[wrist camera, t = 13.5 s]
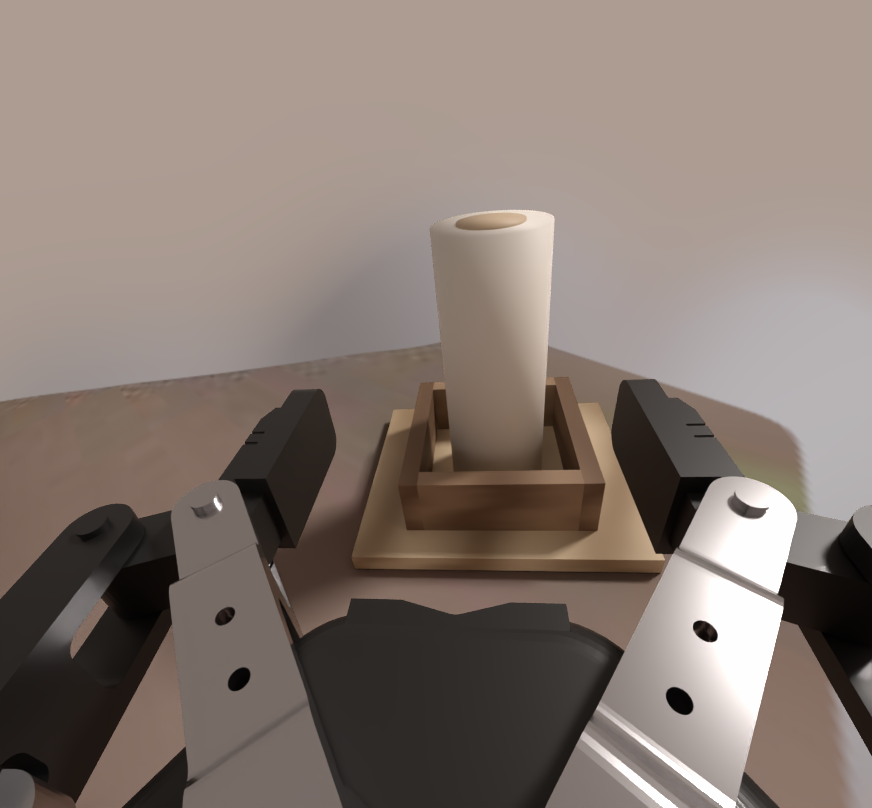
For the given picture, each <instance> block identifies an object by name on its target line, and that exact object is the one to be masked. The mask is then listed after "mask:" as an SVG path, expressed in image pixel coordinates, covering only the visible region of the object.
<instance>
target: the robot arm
mask: <svg viewBox="0 0 872 808" xmlns="http://www.w3.org/2000/svg"><path fill="white" fill-rule="evenodd" d="M611 439H612V446H613V450H614V453H615V456H616V458H617V460H618V463H619V465H620V468H621V470H622V473H623V475H624V478H625V480H626V482H627V485H628V487H629V490H630V492H631V495H632V497H633V500H634V502H635V505H636V507H637V509H638V512H639V514H640V517H641V519H642V522H643V524H644V527H645V529H646V532H647V534H648V536H649V539H650V541H651V544H652V546H653V549H654V551H655V554H673V555H672V557H671V559H670V561H669V563H668V565H667V567H666V569H665V571H664V573H663V575H662V577H661V579H660V581H659V583H658V585H657V587H656V589H655V591H654V593H653V596H652V598H651V600H650V602H649V604H648V606H647V608H646V610H645V612H644V614H643V616H642V618H641V620H640V622H639V624H638V626H637V628H636V630H635V632H634V634H633V636H632V638H631V640H630V642H629V644H628V646H627V648H626V650H625V651H624V650H623V649H621V648H620V647H619V646H617V645H616V644H614V643H613V642H611V641H610V640H609V639H607V638H605V637H604V636H602V635H600V634H598V633H596V632H594V631H593V630H590V629H588V628H585V627H583V626H580V625H578V624H575V623H571V622H569V618H568V612H567V607H566V604H546V603H507V604H503V605H498V606H494V607H490V608H485V609H481V610H477V611H472V612H468V613H464V614H458V615H453V614H448V613H445V612H441V611H438V610H435V609H431V608H428V607H424V606H421V605H418V604H414V603H411V602H407V601H404V600H389V599H351V602H350V605H349V609H348V613H347V616H344V617H340V618H337V619H335V620H332V621H329V622H327V623H325V624H323V625H321V626H319V627H317V628H315V629H313V630H312V631H310V632H309V633H307V634H305V635H304V636H303V634H302V631H301V629H300V627H299V624H298V622H297V619H296V616H295V614H294V611H293V608H292V606H291V603H290V601H289V598H288V595H287V593H286V590H285V587H284V585H283V582H282V579H281V577H280V574H279V571H278V569H277V566H276V564H275V562H274V559H273V558H274V556H275V553H276V551H277V549H278V548H296V546H297V543H298V541H299V539H300V536H301V534H302V531H303V529H304V527H305V524H306V522H307V519H308V517H309V514H310V512H311V510H312V507H313V505H314V502H315V500H316V498H317V495H318V493H319V490H320V488H321V486H322V483H323V481H324V478H325V476H326V473H327V471H328V469H329V466H330V464H331V461H332V459H333V457H334V454H335V450H336V434H335V430H334V426H333V422H332V419H331V415H330V412H329V408H328V404H327V401H326V397H325V394H324V392H323V391H322V390H321V389H305V390H293V391H292V392H291V393H290V395H289V396H288V398H287V399H286V401H285V402H284V404H283V405H282V407H281V408H275V409H274V410H272V411H271V412H270V413H268V414H267V415H266V416H264V417H263V418H262V419H261V420H260V421H259V423H258V424H257V426H256V427H255V428H254V430H253V431H252V434H250V436H249V437H248V438H247V440H246V441H245V445H243V446H242V447H241V448H240V450H239V451H238V453H237V454H236V455H235V457H234V458H233V460H232V461H231V463H230V464H229V465H228V467H227V468H226V470H225V471H224V473H223V474H222V475H221V477H220V478H219V480H217V481H211V482H207V483H205V484H202V485H200V486H198V487H196V488H194V489H192V490H190V491H189V492H188V493H186V494H185V495H184V496H183V497H181V498H180V499H179V501H178V502H177V503H176V504H175V506H174V508H173V510H172V511H167V512H163V513H159V514H155V515H151V516H147V517H143V518H139V519H138V517H137V516H136V514H135V513H134V512H133V510H132V509H131V508H130V507H129V506H127V505H125V504H110V505H106V506H103V507H99V508H97V509H94V510H92V511H90V512H88V513H86V514H84V515H83V516H81V517H79V518H78V519H77V520H75V521H74V522H72V523H71V524H70V525H69V526H68V527H67V528H66V529H65V530H64V531H63V532H62V533H61V534H60V535H59V536H58V537H57V538H56V539H55V540H54V542H53V543H52V544H51V545H50V546H49V547H48V548H47V549H46V550H45V551H44V552H43V554H42V555H41V556H40V557H39V558H38V559H37V560H36V561H35V562H34V563H33V564H32V565H31V567H30V568H29V569H28V570H27V571H26V572H25V573H24V574H23V575H22V576H21V577H20V579H19V580H18V581H17V582H16V583H15V584H14V585H13V586H12V587H11V588H10V589H9V590H8V592H7V593H6V594H5V595H4V596H3V597H2V598H1V599H0V808H76V806H75V803H76V802H77V800H78V798H79V796H80V794H81V792H82V790H83V789H84V787H85V785H86V783H87V781H88V779H89V777H90V775H91V774H92V772H93V770H94V768H95V766H96V764H97V762H98V761H99V759H100V757H101V755H102V753H103V751H104V749H105V748H106V746H107V744H108V742H109V740H110V738H111V736H112V735H113V733H114V731H115V729H116V727H117V725H118V723H119V721H120V720H121V718H122V716H123V714H124V712H125V710H126V708H127V707H128V705H129V703H130V701H131V699H132V697H133V695H134V694H135V692H136V690H137V688H138V686H139V684H140V682H141V681H142V679H143V677H144V675H145V673H146V671H147V669H148V668H149V666H150V664H151V662H152V660H153V658H154V656H155V654H156V653H157V651H158V649H159V647H160V645H161V643H162V641H163V640H164V638H165V636H166V634H167V632H168V630H169V628H170V627H171V625H172V626H173V635H174V644H175V653H176V662H177V671H178V680H179V690H180V699H181V708H182V717H183V726H184V735H185V744H186V747H185V748H183V749H182V750H181V751H180V752H179V753H178V754H177V755H176V756H175V757H174V758H173V759H172V760H171V761H170V762H169V763H168V764H167V765H166V766H165V767H164V768H163V769H162V770H161V771H160V772H158V773H157V774H156V775H155V776H154V777H153V778H152V779H151V780H150V781H149V782H148V783H147V784H146V785H145V786H144V787H143V788H142V789H141V790H140V791H139V792H138V793H137V794H136V795H134V796H133V797H132V798H131V799H130V800H129V801H128V802H127V803H126V804H125V805H124V806H123V807H122V808H779V807H778V806H777V805H776V803H775V802H774V801H773V800H772V799H771V798H770V797H769V796H768V795H767V794H766V793H765V792H764V791H763V790H762V789H761V788H760V787H759V786H758V785H757V784H756V783H755V782H754V781H753V780H752V779H751V778H750V777H749V776H748V775H747V774H746V773H745V772H744V768H745V764H746V760H747V756H748V752H749V747H750V743H751V739H752V735H753V731H754V727H755V723H756V719H757V714H758V710H759V706H760V702H761V698H762V694H763V690H764V685H765V681H766V677H767V673H768V669H769V665H770V661H771V657H772V652H773V648H774V644H775V640H776V636H777V632H778V628H779V624H780V620H783V621H787V622H790V623H793V624H797V625H798V626H799V628H800V629H801V631H802V633H803V635H804V637H805V638H806V640H807V642H808V644H809V645H810V647H811V649H812V651H813V652H814V654H815V656H816V658H817V660H818V661H819V663H820V665H821V667H822V668H823V670H824V672H825V674H826V676H827V677H828V679H829V681H830V683H831V684H832V686H833V688H834V690H835V692H836V693H837V695H838V697H839V699H840V700H841V702H842V704H843V706H844V707H845V709H846V711H847V713H848V715H849V716H850V718H851V720H852V722H853V723H854V725H855V727H856V729H857V730H858V732H859V734H860V736H861V738H862V739H863V741H864V743H865V745H866V746H867V748H868V750H869V752H870V754H871V755H872V505H869V506H864V507H862V508H859V509H858V510H856V512H855V513H854V514H853V516H852V517H851V519H850V520H849V522H845V521H841V520H836V519H832V518H827V517H822V516H818V515H813V514H808V513H804V512H800V511H796V510H795V508H794V506H793V505H792V504H791V502H790V501H789V500H788V499H787V498H786V497H785V496H784V495H782V494H781V493H780V492H778V491H777V490H775V489H774V488H772V487H770V486H768V485H766V484H764V483H761V482H759V481H756V480H753V479H749V478H745V476H744V475H743V474H742V472H741V471H740V470H739V468H738V467H737V465H736V464H735V463H734V461H733V460H732V459H731V457H730V456H729V455H728V453H727V452H726V451H725V449H724V448H723V447H722V445H721V444H720V442H719V441H718V440H717V438H714V434H713V433H712V432H711V430H710V429H709V428H708V426H705V422H704V421H703V420H702V418H701V417H700V415H699V414H698V413H697V411H696V410H695V409H694V408H692V407H691V406H689V405H688V404H686V403H685V402H683V401H682V400H680V399H679V398H668V397H667V395H666V394H665V392H664V391H663V389H662V388H661V386H660V385H659V383H658V382H657V381H656V380H655V379H642V380H623V381H622V382H621V384H620V387H619V392H618V397H617V403H616V408H615V413H614V419H613V424H612V431H611ZM100 597H101V599H102V600H103V601H104V602H105V603H106V604H107V605H108V606H109V607H108V608H107V610H106V611H105V613H104V614H103V616H102V617H101V619H100V620H99V621H98V623H97V624H96V626H95V627H94V629H93V630H92V632H91V633H90V635H89V636H88V638H87V639H86V640H85V642H84V643H83V645H82V646H81V648H80V649H79V651H78V652H77V654H76V655H75V656H74V658H73V659H72V658H71V655H70V646H71V642H72V639H73V636H74V634H75V633H76V631H77V630H78V628H79V627H80V625H81V624H82V623H83V621H84V620H85V618H86V617H87V616H88V614H89V613H90V611H91V610H92V609H93V607H94V606H95V604H96V603H97V602H98V600H99V599H100Z"/></svg>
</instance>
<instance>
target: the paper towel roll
mask: <svg viewBox="0 0 872 808" xmlns="http://www.w3.org/2000/svg"><path fill="white" fill-rule="evenodd" d="M553 234H554V217H553V216H552V215H551V214H548V213H545V212H539V211H531V210H498V211H486V212H477V213H470V214H464V215H459V216H454V217H450V218H447V219H444V220H441V221H439V222H436V223H434V224H433V225H431V227H430V237H431V247H432V257H433V267H434V277H435V287H436V298H437V307H438V317H439V328H440V338H441V348H442V358H443V368H444V378H445V388H446V398H447V408H448V419H449V429H450V439H451V449H452V459H453V469H454V472H464V471H531V470H541V461H542V442H543V423H544V405H545V386H546V367H547V349H548V329H549V311H550V309H549V308H550V292H551V273H552V255H553V254H552V253H553V236H554V235H553Z"/></svg>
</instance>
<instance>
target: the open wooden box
mask: <svg viewBox="0 0 872 808" xmlns="http://www.w3.org/2000/svg"><path fill="white" fill-rule="evenodd" d="M351 558H352V561H353V564H354V567H355V569H425V570H498V571H571V572H645V573H661V571H662V568H663V565H664V562H665V559H664V557H663V554H655V551H654V549H653V546H652V544H651V541H650V539H649V536H648V534H647V532H646V529H645V527H644V524H643V522H642V519H641V517H640V514H639V512H638V509H637V507H636V505H635V502H634V500H633V497H632V495H631V492H630V490H629V487H628V485H627V482H626V480H625V478H624V475H623V473H622V470H621V468H620V465H619V463H618V460H617V458H616V456H615V453H614V450H613V446H612V439H611V432H610V429H609V427H608V424H607V422H606V420H605V417H604V415H603V413H602V410H601V408H600V406H599V403H581V404H578V403H577V400H576V397H575V394H574V392H573V389H572V386H571V383H570V380H569V377H551V378H546V386H545V405H544V423H543V442H542V461H541V470H531V471H464V472H454V469H453V459H452V449H451V439H450V429H449V419H448V408H447V398H446V388H445V382H430V383H420V387H419V392H418V396H417V401H416V406H415V409H402V410H394V412H393V415H392V418H391V422H390V425H389V429H388V432H387V436H386V439H385V443H384V446H383V449H382V453H381V456H380V460H379V463H378V467H377V470H376V474H375V477H374V480H373V484H372V487H371V491H370V494H369V498H368V501H367V505H366V508H365V511H364V515H363V518H362V522H361V525H360V529H359V532H358V535H357V539H356V542H355V546H354V549H353V553H352V556H351Z"/></svg>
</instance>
